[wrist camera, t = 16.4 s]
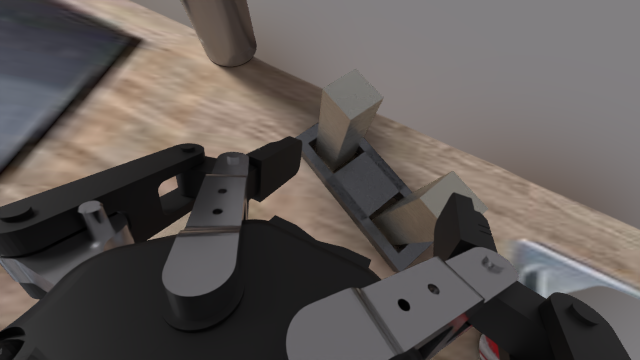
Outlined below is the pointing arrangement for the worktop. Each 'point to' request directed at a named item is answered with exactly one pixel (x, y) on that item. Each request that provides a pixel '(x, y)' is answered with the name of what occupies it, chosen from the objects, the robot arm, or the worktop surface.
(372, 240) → the dark grey slotted holder
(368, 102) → the seated block
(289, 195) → the worktop surface
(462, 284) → the robot arm
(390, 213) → the off-white tall block
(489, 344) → the soda can
